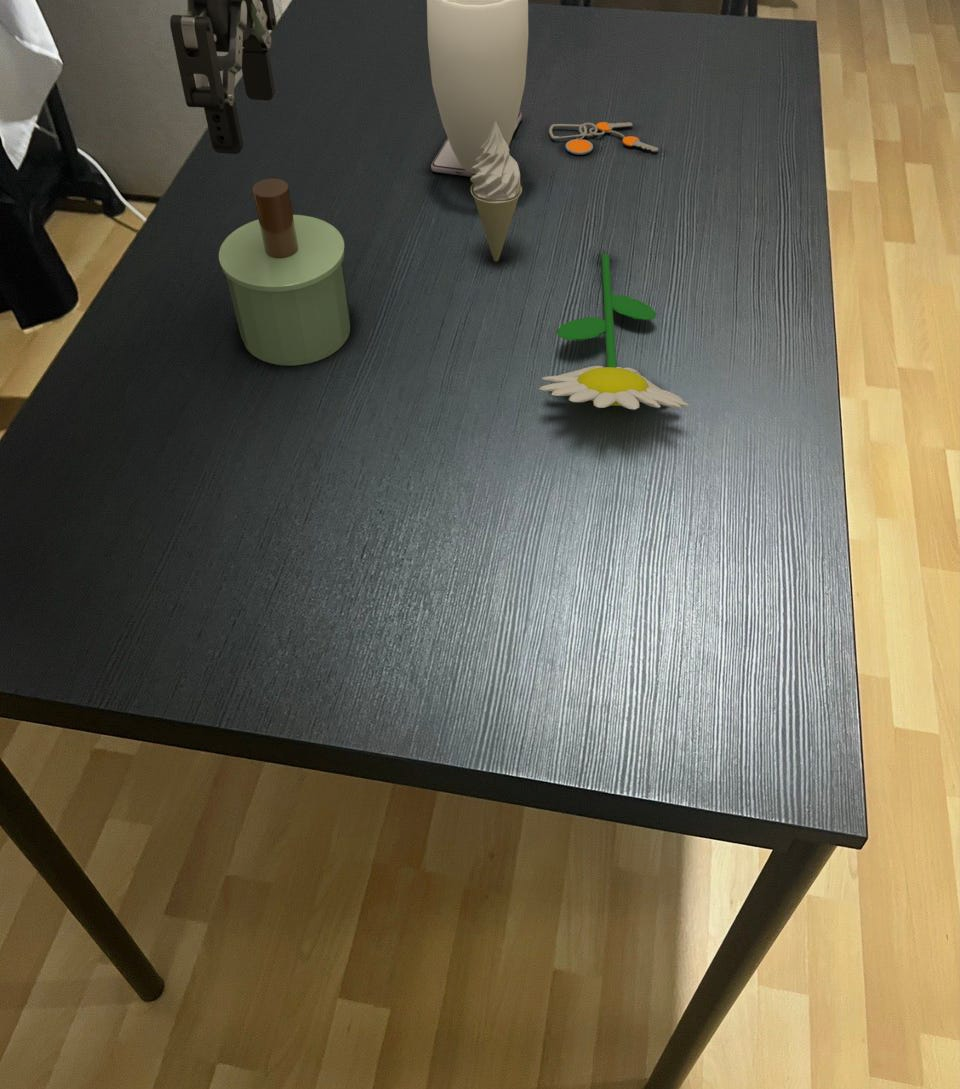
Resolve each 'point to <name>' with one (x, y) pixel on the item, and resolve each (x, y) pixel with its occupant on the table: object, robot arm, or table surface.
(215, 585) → the table surface
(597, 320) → the decorative flower
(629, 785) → the table surface
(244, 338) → the tin
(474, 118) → the cream vase
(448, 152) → the smartphone
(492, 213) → the ice cream cone
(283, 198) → the lid
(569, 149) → the key chain
